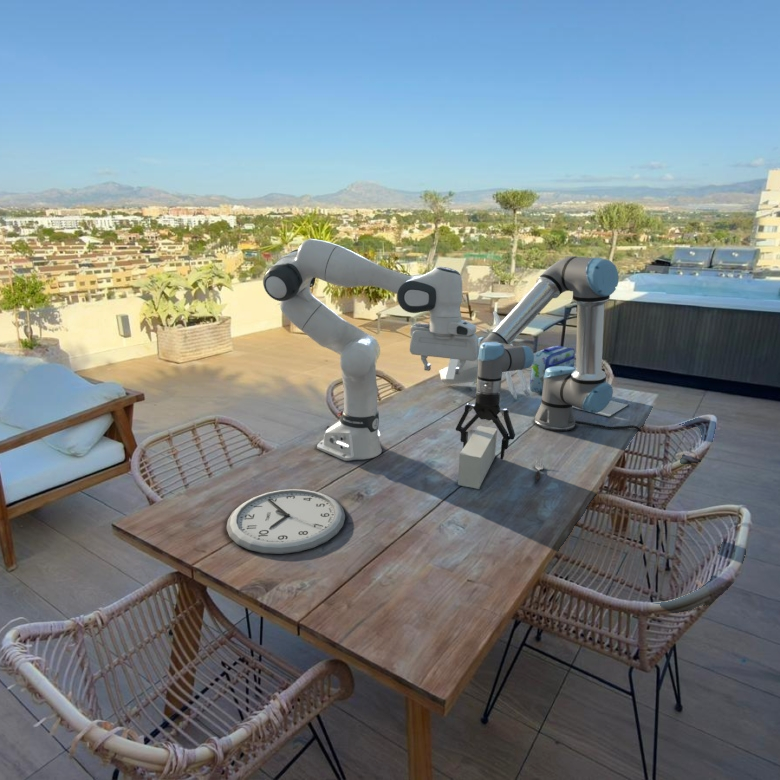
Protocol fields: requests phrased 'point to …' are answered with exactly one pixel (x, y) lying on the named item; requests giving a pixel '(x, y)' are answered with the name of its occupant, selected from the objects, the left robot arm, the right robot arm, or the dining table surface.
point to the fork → (538, 469)
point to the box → (477, 457)
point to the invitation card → (610, 408)
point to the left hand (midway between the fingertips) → (442, 372)
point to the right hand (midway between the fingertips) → (483, 454)
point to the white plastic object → (471, 372)
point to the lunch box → (549, 364)
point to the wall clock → (285, 521)
